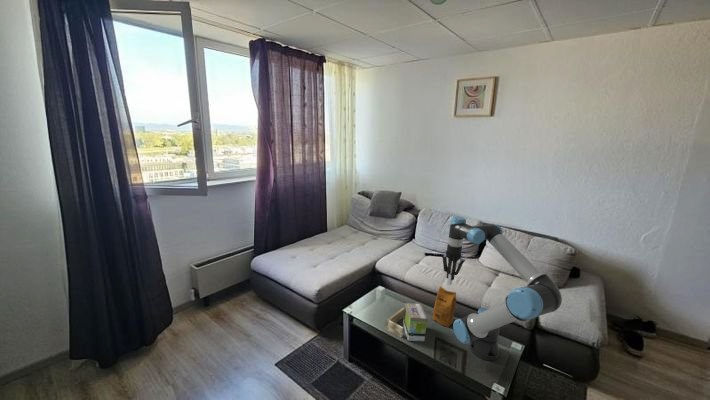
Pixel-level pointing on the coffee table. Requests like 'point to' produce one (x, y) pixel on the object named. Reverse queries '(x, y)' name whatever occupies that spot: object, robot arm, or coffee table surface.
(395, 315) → the birch corner fence
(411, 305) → the tea box
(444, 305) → the coffee package
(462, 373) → the coffee table surface
